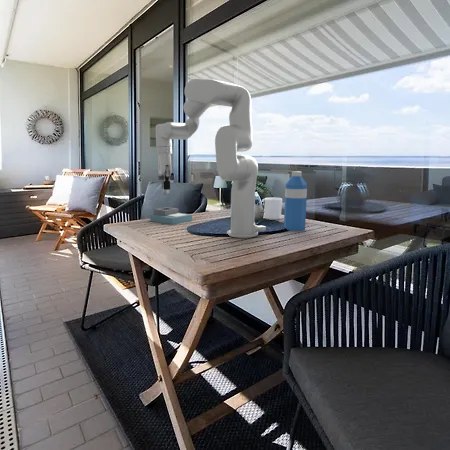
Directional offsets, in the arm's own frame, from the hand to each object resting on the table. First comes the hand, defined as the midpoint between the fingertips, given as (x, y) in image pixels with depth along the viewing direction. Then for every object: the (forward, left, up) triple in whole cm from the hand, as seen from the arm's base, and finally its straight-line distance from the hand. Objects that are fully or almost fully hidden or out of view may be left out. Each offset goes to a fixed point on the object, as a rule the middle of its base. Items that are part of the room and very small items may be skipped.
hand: (166, 188), depth 166 cm
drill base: (-2, +1, -15) cm, 16 cm away
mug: (-52, -8, -16) cm, 55 cm away
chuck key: (0, 0, -3) cm, 3 cm away
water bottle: (-60, +17, -16) cm, 65 cm away
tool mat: (-6, +5, -13) cm, 15 cm away
